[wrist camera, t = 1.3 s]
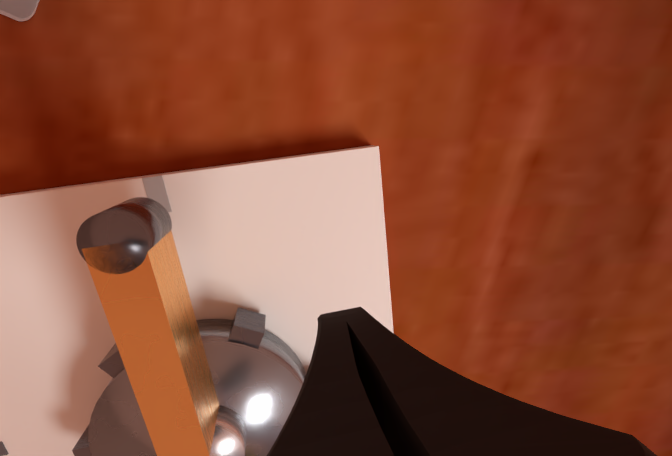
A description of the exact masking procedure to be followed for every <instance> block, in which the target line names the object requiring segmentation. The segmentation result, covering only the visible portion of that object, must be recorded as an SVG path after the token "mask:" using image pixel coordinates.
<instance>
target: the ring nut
mask: <svg viewBox="0 0 672 456" xmlns="http://www.w3.org/2000/svg"><path fill="white" fill-rule="evenodd" d="M171 229H172V221H171V217H170V215H169V213H168V211H167V210H166V209H165V208H164V207H163V206H162V205H161V204H160V203H158V202H157V201H155V200H153V199H150V198H145V197H135V198H131V199H128V200H126V201H124V202H122V203H119V204H117V205H115V206H113V207H111V208H108V209H106V210H104V211H102V212H100V213H97V214H95V215H93V216H91V217H89V218H88V219H86V220H85V221H84V222H83V223H82V224H81V226H80V228H79V229H78V232H77V236H76V243H77V248H78V251H79V253H80V255H81V256H82V258H83V259H84V260H85V261H86V263H87V265H88V268H89V271H90V274H91V276H92V279H93V282H94V284H95V287H96V290H97V293H98V295H99V298H100V301H101V304H102V306H103V309H104V312H105V315H106V317H107V320H108V323H109V326H110V328H111V331H112V334H113V336H114V339H115V342H116V343H115V344H114V346H113V347H112V348H111V350H110V351H109V352H108V354H107V355H106V356H105V357H104V359H103V360H102V361H101V363H100V364H99V365H98V367H99V368H101V369H102V370H103V371H105V372H106V373H107V374H109V375H110V376H111V377H113V378H112V379H111V381H110V382H109V384H108V385H107V387H106V388H105V390H104V391H103V393H102V394H101V396H100V398H99V399H98V401H97V403H96V405H95V407H94V410H93V412H92V415H91V419H90V423H89V425H88V426H87V428H86V429H85V431H84V433H83V434H82V436H81V437H80V439H79V440H78V442H77V443H76V445H75V446H74V448H73V450H72V452H73V454H74V456H267V454H268V453H269V451H270V449H271V448H272V446H273V444H274V442H275V441H276V439H277V437H278V435H279V433H280V431H281V430H282V428H283V426H284V424H285V422H286V420H287V418H288V416H289V414H290V412H291V410H292V408H293V406H294V404H295V401H296V399H297V397H298V394H299V392H300V390H301V387H302V385H303V382H304V379H305V376H306V371H305V369H304V367H303V364H302V362H301V361H300V359H299V358H298V356H297V355H296V353H295V352H294V351H293V350H292V349H291V348H290V347H289V346H288V345H287V344H286V343H285V342H284V341H283V340H281V339H280V338H279V337H277V336H275V335H274V334H272V333H271V332H269V331H267V330H265V319H266V315H264V314H261V313H257V312H254V311H250V310H247V309H243V308H239V307H238V308H237V311H236V313H235V316H234V318H233V320H229V319H201V320H196V318H195V314H194V310H193V307H192V303H191V300H190V296H189V292H188V289H187V285H186V282H185V278H184V274H183V271H182V267H181V263H180V260H179V256H178V253H177V249H176V245H175V242H174V238H173V234H172V231H171Z"/></svg>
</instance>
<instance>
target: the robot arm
mask: <svg viewBox="0 0 672 456" xmlns="http://www.w3.org/2000/svg"><path fill="white" fill-rule="evenodd" d="M317 320H318V330H317V337H316V342H315V346H314V350H313V354H312V358H311V361H310V365H309V367H308V370H307V373H306V376H305V379H304V382H303V385H302V387H301V390H300V392H299V394H298V397H297V399H296V401H295V404H294V406H293V408H292V410H291V412H290V414H289V416H288V418H287V420H286V422H285V424H284V426H283V428H282V430H281V431H280V433H279V435H278V437H277V439H276V441H275V442H274V444H273V446H272V448H271V449H270V451H269V453H268V454H267V456H657V455H655V454H654V453H653V452H652V451H651V450H649V449H648V448H647V447H646V446H645V445H644V444H642V443H641V442H640V441H639V440H637V439H636V438H635V437H634V436H632V435H629V434H626V433H622V432H619V431H615V430H612V429H608V428H604V427H601V426H597V425H594V424H590V423H587V422H583V421H580V420H576V419H572V418H569V417H565V416H562V415H559V414H556V413H553V412H550V411H547V410H545V409H542V408H539V407H536V406H533V405H530V404H527V403H524V402H522V401H519V400H517V399H514V398H511V397H509V396H506V395H504V394H501V393H499V392H497V391H494V390H492V389H490V388H487V387H485V386H483V385H480V384H478V383H476V382H474V381H472V380H470V379H467V378H465V377H463V376H461V375H459V374H457V373H456V372H454V371H452V370H450V369H448V368H446V367H444V366H442V365H441V364H439V363H437V362H435V361H434V360H432V359H430V358H428V357H427V356H425V355H424V354H422V353H421V352H419V351H418V350H416V349H414V348H413V347H411V346H410V345H409V344H407V343H406V342H404V341H403V340H402V339H400V338H399V337H398V336H396V335H395V334H394V333H392V332H391V331H390V330H388V329H387V328H386V327H385V326H383V325H382V324H381V323H380V322H379V321H377V320H376V319H375V318H374V317H373V316H371V315H370V314H369V313H368V312H367V311H366V310H364V309H363V308H362V307H356V308H351V309H346V310H341V311H336V312H330V313H325V314H321V315H320V316H319V317H318V318H317Z"/></svg>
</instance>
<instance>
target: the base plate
mask: <svg viewBox="0 0 672 456" xmlns="http://www.w3.org/2000/svg"><path fill="white" fill-rule="evenodd" d="M135 197H145V198H150V199H153V200H155V201H157V202H158V203H160V204H161V205H162V206H163V207H164V208H165V209H166V210H167V211H168V213H169V215H170V217H171V221H172V229H171V231H172V234H173V238H174V242H175V245H176V249H177V253H178V256H179V260H180V263H181V267H182V271H183V274H184V278H185V282H186V285H187V289H188V292H189V296H190V300H191V303H192V307H193V310H194V314H195V318H196V320H201V319H229V320H233V318H234V316H235V313H236V311H237V308H238V307H239V308H243V309H247V310H250V311H254V312H257V313H261V314H264V315H266V319H265V330H267V331H269V332H271V333H272V334H274V335H275V336H277V337H279V338H280V339H281V340H283V341H284V342H285V343H286V344H287V345H288V346H289V347H290V348H291V349H292V350H293V351H294V352H295V353H296V355H297V356H298V358H299V359H300V361H301V362H302V364H303V367H304V369H305V371H306V373H307V370H308V367H309V365H310V361H311V358H312V354H313V350H314V346H315V342H316V337H317V330H318V320H317V318H318V317H319V316H320V315H321V314H325V313H330V312H336V311H341V310H346V309H351V308H356V307H362V308H363V309H364V310H366V311H367V312H368V313H369V314H370V315H371V316H373V317H374V318H375V319H376V320H377V321H379V322H380V323H381V324H382V325H383V326H385V327H386V328H387V329H388V330H390V331H391V332H392V333H393V320H392V308H391V295H390V282H389V270H388V257H387V244H386V231H385V219H384V206H383V193H382V181H381V168H380V155H379V146H374V145H370V146H362V147H355V148H348V149H340V150H333V151H325V152H318V153H310V154H303V155H295V156H288V157H280V158H273V159H265V160H258V161H250V162H243V163H235V164H228V165H220V166H213V167H205V168H198V169H190V170H183V171H175V172H168V173H161V174H153V175H146V176H138V177H131V178H123V179H116V180H108V181H101V182H93V183H86V184H78V185H71V186H63V187H56V188H48V189H41V190H33V191H26V192H18V193H11V194H3V195H0V456H74V454H73V452H72V450H73V448H74V446H75V445H76V443H77V442H78V440H79V439H80V437H81V436H82V434H83V433H84V431H85V429H86V428H87V426H88V425H89V423H90V419H91V415H92V412H93V410H94V407H95V405H96V403H97V401H98V399H99V398H100V396H101V394H102V393H103V391H104V390H105V388H106V387H107V385H108V384H109V382H110V381H111V379H112V378H113V377H111V376H110V375H109V374H107V373H106V372H105V371H103V370H102V369H101V368H99V367H98V365H99V364H100V363H101V361H102V360H103V359H104V357H105V356H106V355H107V354H108V352H109V351H110V350H111V348H112V347H113V346H114V344H115V343H116V342H115V339H114V336H113V334H112V331H111V328H110V326H109V323H108V320H107V317H106V315H105V312H104V309H103V306H102V304H101V301H100V298H99V295H98V293H97V290H96V287H95V284H94V282H93V279H92V276H91V274H90V271H89V268H88V265H87V263H86V261H85V260H84V259H83V258H82V256H81V255H80V253H79V251H78V248H77V243H76V236H77V232H78V229H79V228H80V226H81V224H82V223H83V222H84V221H85V220H86V219H88V218H89V217H91V216H93V215H95V214H97V213H100V212H102V211H104V210H106V209H108V208H111V207H113V206H115V205H117V204H119V203H122V202H124V201H126V200H128V199H131V198H135Z"/></svg>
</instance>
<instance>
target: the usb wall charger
mask: <svg viewBox="0 0 672 456" xmlns="http://www.w3.org/2000/svg"><path fill="white" fill-rule="evenodd" d="M38 3H39V0H0V14H2V15H5V16H7V17H10V18H12V19H14V20H17V21H26V20H28V19H30V18H31V17H32V16H33V15H34V14H35V11H36V8H37V5H38Z"/></svg>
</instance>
